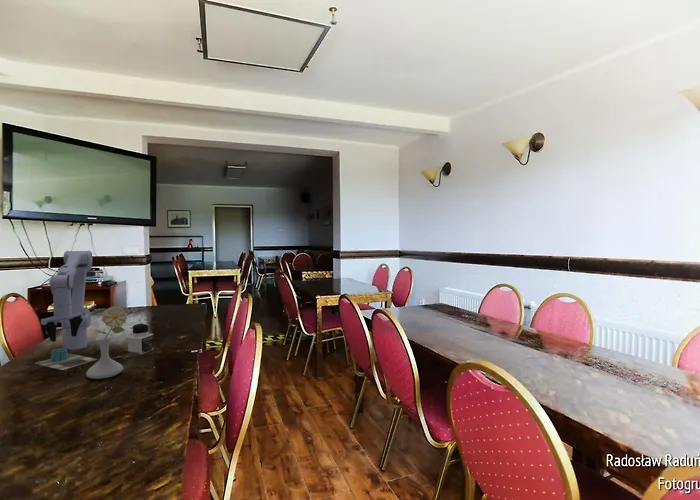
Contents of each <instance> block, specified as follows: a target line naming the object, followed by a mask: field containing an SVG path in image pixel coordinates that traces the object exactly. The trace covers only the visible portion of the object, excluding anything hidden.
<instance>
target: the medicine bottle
mask: <svg viewBox="0 0 700 500" xmlns="http://www.w3.org/2000/svg"><path fill="white" fill-rule="evenodd" d="M154 345H155V341H154V334H153V333H149V324H147V323H137V324H134V325H133V326H132V335H131V336H130V335H129V336H128V337H127V349H128V350H127V352H131V353H133V354H134V355H145V354H146V353H149V352H151V351H154V350H155V346H154Z"/></svg>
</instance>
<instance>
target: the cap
mask: <svg viewBox="0 0 700 500" xmlns="http://www.w3.org/2000/svg"><path fill="white" fill-rule="evenodd" d="M50 352H51V353H50V359H51V361H52V362H60V361H64V360H67V359H68V354H69V353H68V349H67V348H63V347H59V348H54V349H52V350H50Z"/></svg>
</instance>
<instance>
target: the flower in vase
mask: <svg viewBox="0 0 700 500" xmlns="http://www.w3.org/2000/svg"><path fill="white" fill-rule="evenodd" d="M127 317H128V313H127V312H126V311H125V310H124V308H123V307H119V306H111V307H108V308H107V309H105V310H104V311H103V313H102V316H101V321H102V322H103V324H105V325H104V326H106V327H110V329H109V331H108V332H106V331H102V330H98V329H95V331H96V332H97V333H101V334H105V335H106V336H99V337H97V338H95V340H96V341H97V343H98V345H99V348H100V358H99V359H98V361H96V362H95V363H94V364H93V365H92V366H91V367H90V368H89V369H88V370H87V371H86V373H85V375H86V377H87V378H89V379H93V380H99V379H100V380H101V379H107V378H111V377H115V376H117V375H119V374H120V373H122V372H123V371H124V366H123V364H121V363H119V362H117V361H116V360H114V359H112V358H110V354H109V347H110V346H109V345H110V342H111V340H112V339H113V336H110V335H109V334H110V333H111V331H112V332H113V333H115V334H120V333H123V332H125V331H126V329H125V328H123V327H122V326H123V325H124V324H126V322H127Z"/></svg>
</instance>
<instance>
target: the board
mask: <svg viewBox="0 0 700 500" xmlns="http://www.w3.org/2000/svg"><path fill="white" fill-rule="evenodd" d="M97 360H98V361H99V358H94V357H89V356H83V355H79V354H73V353H68V359H67V360H64V361H60V362H52V361H51V358H49V359H46V360H42V361H37V362H35V363H34V364H36V365H39V366H44V367H48V368H51V369H56V370H61V371H63V370H64V371H65V370H68V369H70V368H71V369H72V368H74V367H77V366H81V365H84V364H87V363H90V362H94V361H97Z"/></svg>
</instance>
